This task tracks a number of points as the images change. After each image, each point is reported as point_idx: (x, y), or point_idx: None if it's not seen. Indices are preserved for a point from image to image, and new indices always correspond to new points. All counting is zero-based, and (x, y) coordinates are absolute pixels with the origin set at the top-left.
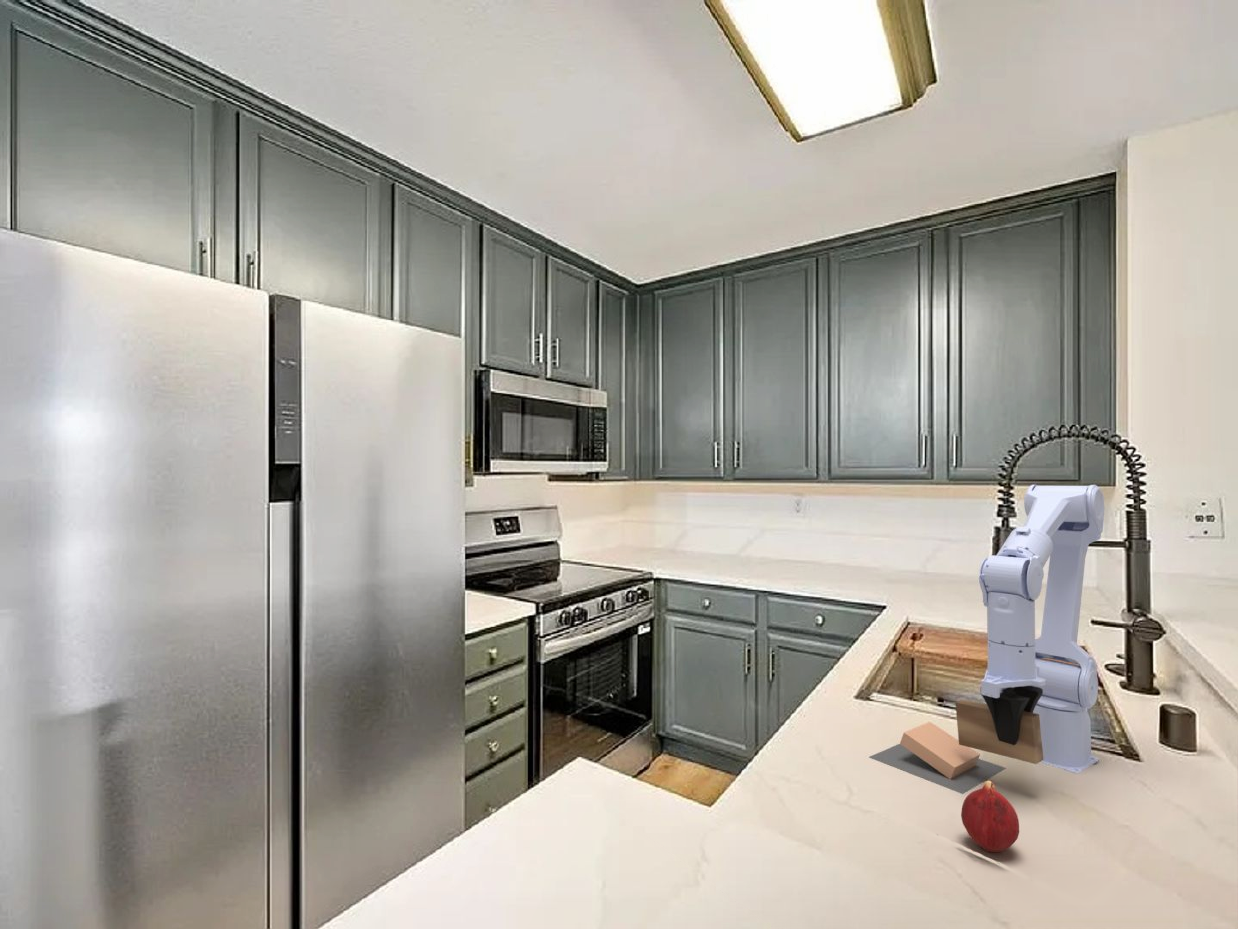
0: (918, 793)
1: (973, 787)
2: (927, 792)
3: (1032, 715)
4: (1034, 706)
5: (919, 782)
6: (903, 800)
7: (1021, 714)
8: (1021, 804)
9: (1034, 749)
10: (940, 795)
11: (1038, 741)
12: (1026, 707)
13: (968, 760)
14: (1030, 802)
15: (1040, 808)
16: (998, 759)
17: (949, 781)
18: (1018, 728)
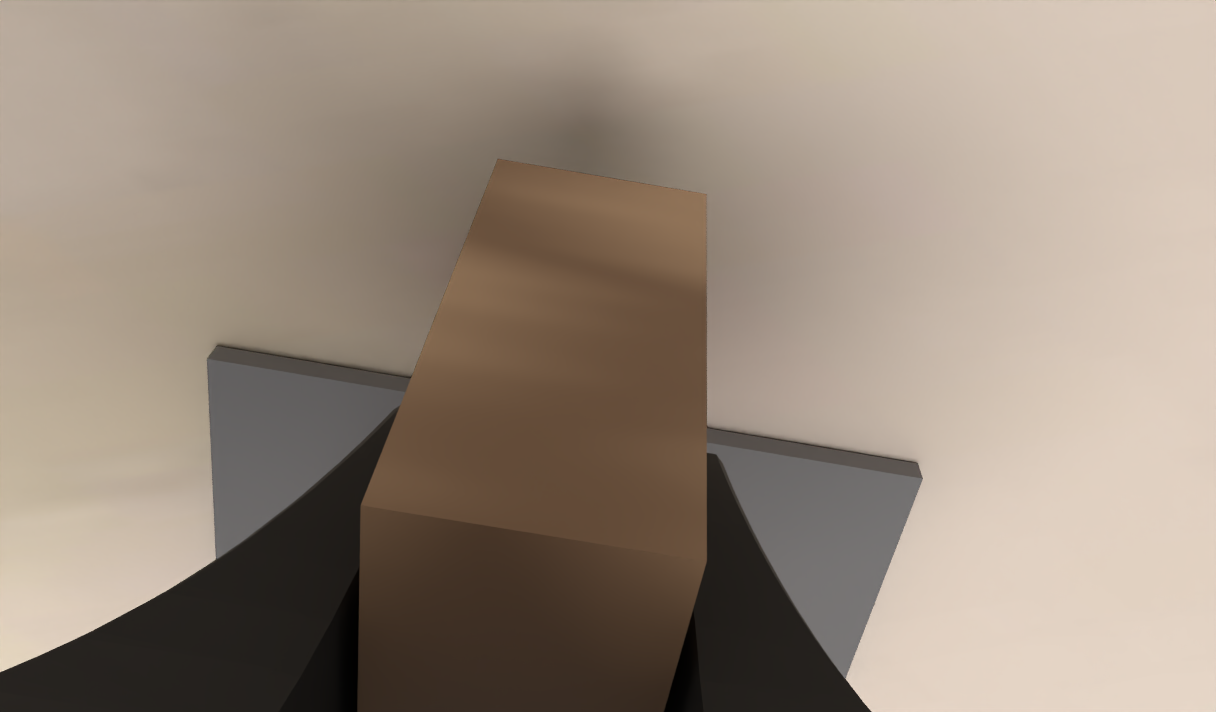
0: (1034, 640)
1: (754, 450)
2: (983, 611)
3: (527, 570)
4: (161, 632)
5: (863, 667)
6: (1194, 672)
7: (749, 702)
8: (738, 163)
9: (699, 278)
10: (975, 555)
11: (567, 288)
12: (321, 703)
13: None
14: (648, 119)
15: (706, 42)
16: (38, 419)
17: (781, 567)
18: (731, 562)
